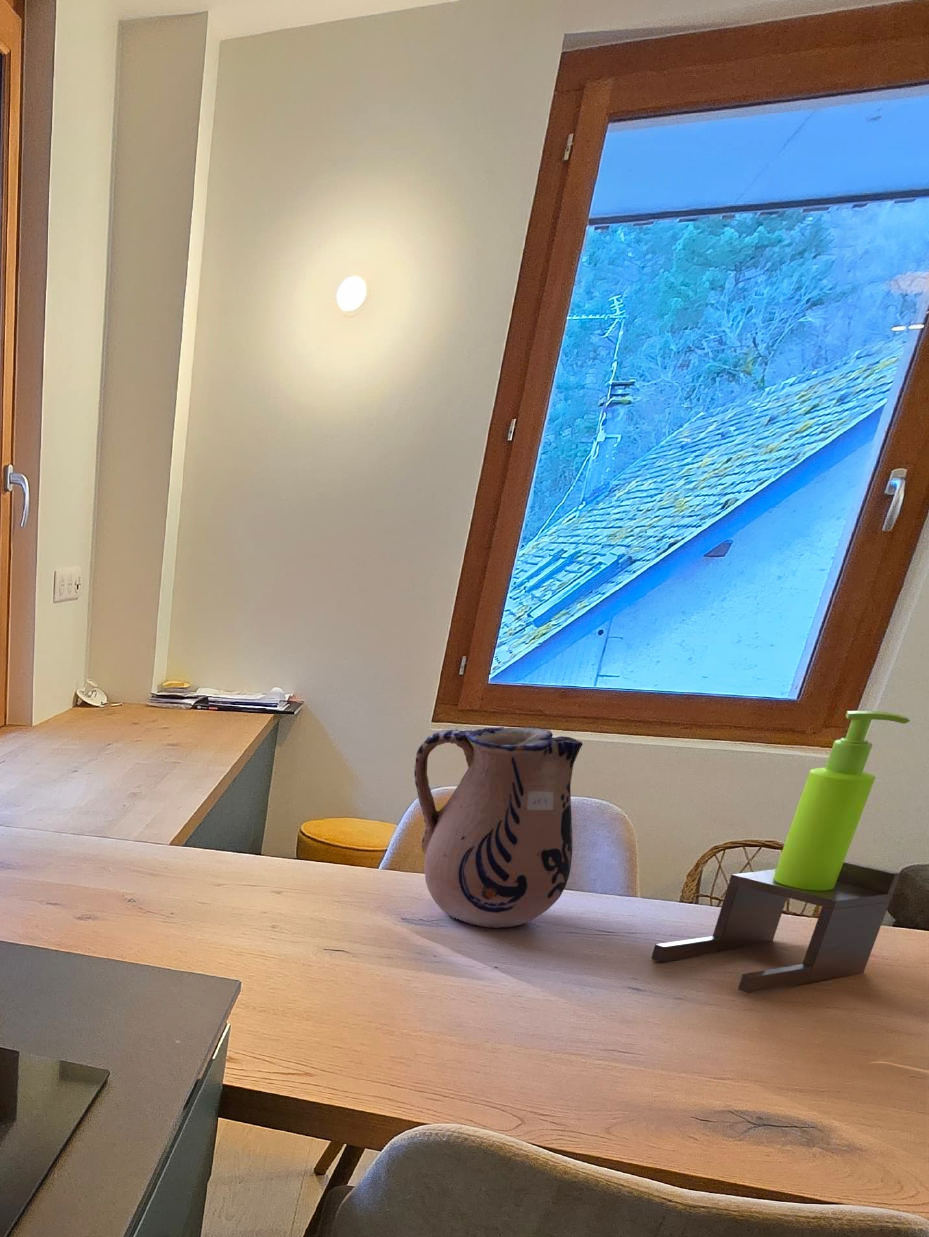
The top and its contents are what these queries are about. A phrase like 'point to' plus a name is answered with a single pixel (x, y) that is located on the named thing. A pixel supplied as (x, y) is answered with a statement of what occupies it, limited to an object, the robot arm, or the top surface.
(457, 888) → the ceramic pitcher
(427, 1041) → the top surface
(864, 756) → the soap dispenser
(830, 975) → the stand
